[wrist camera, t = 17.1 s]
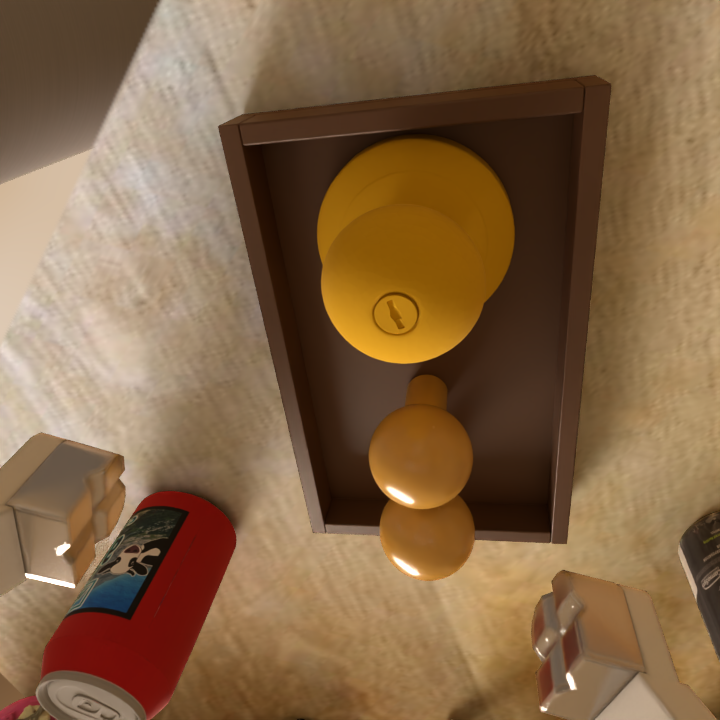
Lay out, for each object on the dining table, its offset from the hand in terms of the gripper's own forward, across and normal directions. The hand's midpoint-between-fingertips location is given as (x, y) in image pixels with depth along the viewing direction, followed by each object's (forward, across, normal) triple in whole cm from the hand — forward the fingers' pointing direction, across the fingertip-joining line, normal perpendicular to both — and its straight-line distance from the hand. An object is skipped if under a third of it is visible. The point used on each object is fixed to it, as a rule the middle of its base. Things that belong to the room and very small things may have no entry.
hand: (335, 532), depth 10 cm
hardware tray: (+17, -2, +5) cm, 18 cm away
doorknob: (+12, +2, -4) cm, 13 cm away
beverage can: (+17, +9, +23) cm, 30 cm away
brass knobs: (+16, -4, +10) cm, 19 cm away
